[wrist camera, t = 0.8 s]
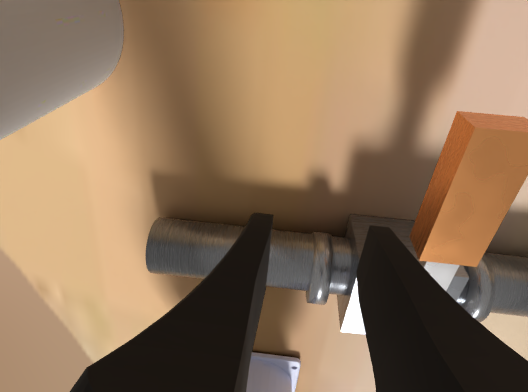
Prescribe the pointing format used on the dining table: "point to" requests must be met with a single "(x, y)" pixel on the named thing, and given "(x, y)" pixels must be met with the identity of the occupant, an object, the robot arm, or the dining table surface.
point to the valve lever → (470, 191)
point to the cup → (53, 54)
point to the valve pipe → (332, 265)
